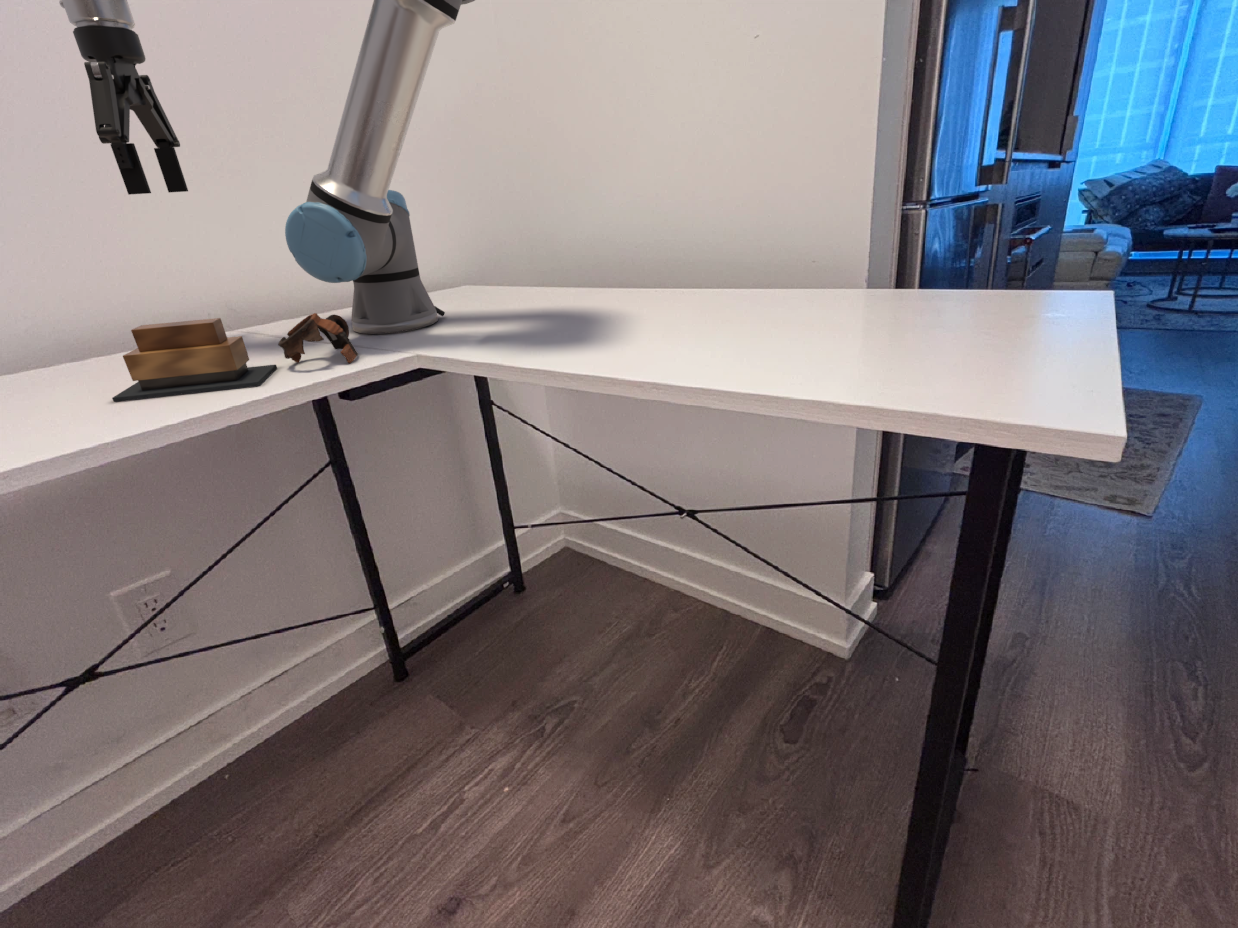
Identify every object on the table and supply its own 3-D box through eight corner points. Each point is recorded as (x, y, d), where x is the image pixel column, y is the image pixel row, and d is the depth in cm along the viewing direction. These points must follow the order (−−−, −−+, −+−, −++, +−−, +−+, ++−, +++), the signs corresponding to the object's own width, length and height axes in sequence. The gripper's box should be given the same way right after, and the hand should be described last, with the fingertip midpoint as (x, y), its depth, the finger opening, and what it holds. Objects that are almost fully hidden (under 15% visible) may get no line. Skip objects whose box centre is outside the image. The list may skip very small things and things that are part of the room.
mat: (277, 368, 93) (276, 364, 93) (259, 386, 85) (258, 381, 85) (145, 382, 90) (143, 378, 90) (113, 402, 82) (111, 397, 82)
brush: (136, 391, 84) (113, 333, 81) (155, 380, 89) (133, 324, 85) (240, 380, 86) (221, 323, 83) (252, 369, 91) (235, 314, 88)
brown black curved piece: (348, 372, 91) (304, 327, 87) (305, 398, 94) (261, 356, 90) (377, 331, 100) (338, 290, 96) (337, 357, 104) (297, 317, 99)
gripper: (119, 45, 98) (168, 192, 107) (17, 7, 76) (90, 196, 85) (171, 44, 99) (215, 189, 108) (86, 6, 77) (150, 193, 86)
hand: (160, 193), depth 97 cm, fingers open, 13 cm apart
